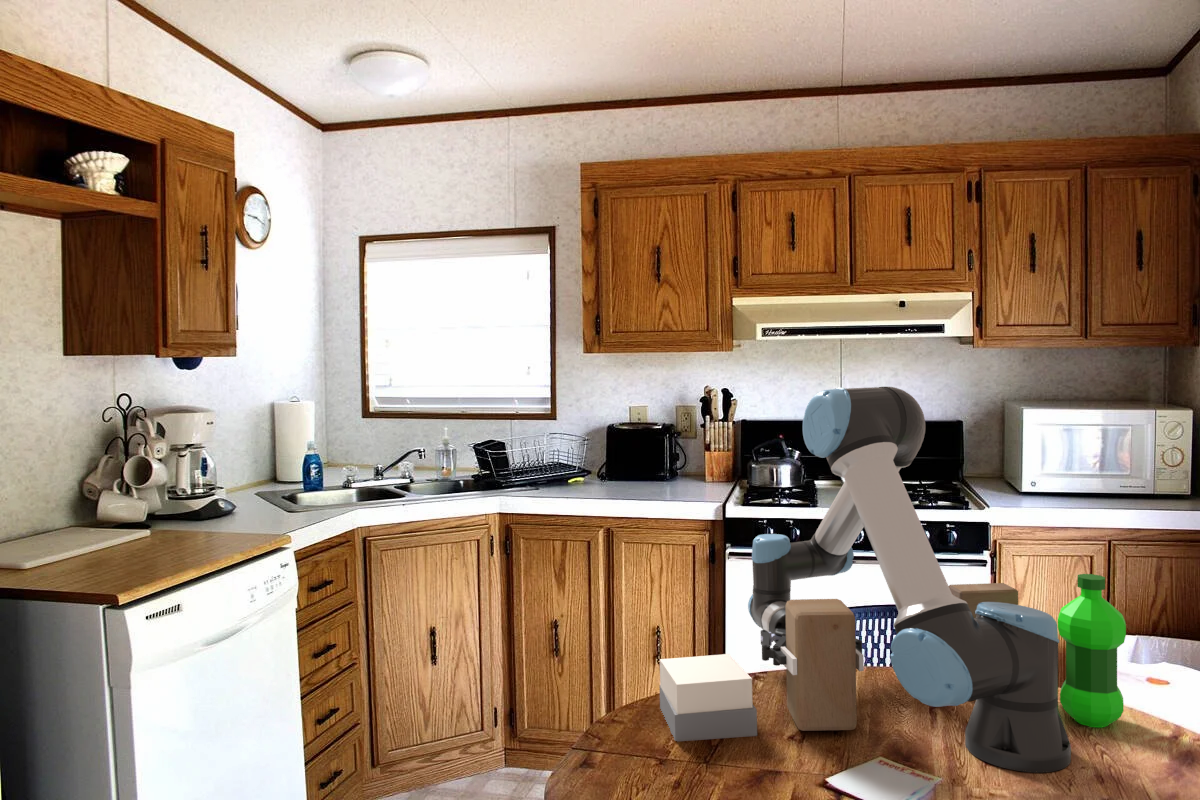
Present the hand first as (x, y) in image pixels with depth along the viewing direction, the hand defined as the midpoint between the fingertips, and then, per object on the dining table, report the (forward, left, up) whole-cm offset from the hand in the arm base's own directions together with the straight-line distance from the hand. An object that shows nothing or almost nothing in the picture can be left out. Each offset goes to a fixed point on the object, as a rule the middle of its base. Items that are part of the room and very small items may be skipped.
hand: (828, 665), depth 145 cm
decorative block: (+14, -35, -12) cm, 40 cm away
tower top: (+9, +19, -8) cm, 22 cm away
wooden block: (+4, 0, -11) cm, 12 cm away
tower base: (+9, +19, -13) cm, 24 cm away
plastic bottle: (-1, -46, -12) cm, 48 cm away
